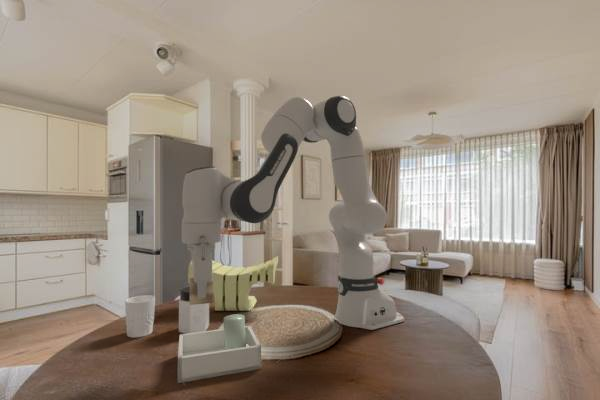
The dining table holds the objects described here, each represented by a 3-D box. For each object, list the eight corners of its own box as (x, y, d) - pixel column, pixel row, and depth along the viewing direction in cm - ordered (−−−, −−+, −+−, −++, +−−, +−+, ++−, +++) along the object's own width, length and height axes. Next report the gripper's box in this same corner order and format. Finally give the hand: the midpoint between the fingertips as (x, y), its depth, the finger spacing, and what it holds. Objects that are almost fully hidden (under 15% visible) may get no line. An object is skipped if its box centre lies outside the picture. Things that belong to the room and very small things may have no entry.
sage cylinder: (240, 348, 79) (239, 312, 79) (249, 355, 75) (248, 317, 75) (221, 354, 76) (220, 317, 76) (229, 362, 72) (228, 322, 72)
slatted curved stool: (187, 313, 109) (188, 262, 110) (203, 300, 125) (203, 255, 126) (273, 314, 108) (273, 262, 109) (278, 300, 124) (278, 255, 124)
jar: (182, 336, 89) (182, 294, 89) (175, 328, 95) (176, 288, 96) (213, 330, 94) (213, 289, 94) (205, 322, 100) (205, 284, 101)
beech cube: (211, 297, 76) (211, 276, 77) (212, 302, 72) (212, 280, 72) (189, 299, 75) (189, 277, 75) (189, 305, 70) (189, 282, 70)
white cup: (159, 333, 92) (159, 298, 92) (130, 341, 86) (130, 304, 86) (148, 326, 97) (149, 293, 97) (120, 333, 91) (121, 299, 91)
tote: (249, 344, 83) (249, 325, 84) (261, 368, 71) (261, 346, 71) (179, 354, 77) (179, 334, 78) (177, 383, 65) (177, 358, 65)
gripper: (219, 238, 65) (218, 305, 65) (212, 231, 84) (211, 283, 84) (187, 238, 63) (186, 308, 62) (187, 232, 82) (186, 285, 82)
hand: (201, 294), depth 73 cm, fingers closed on beech cube, 5 cm apart
